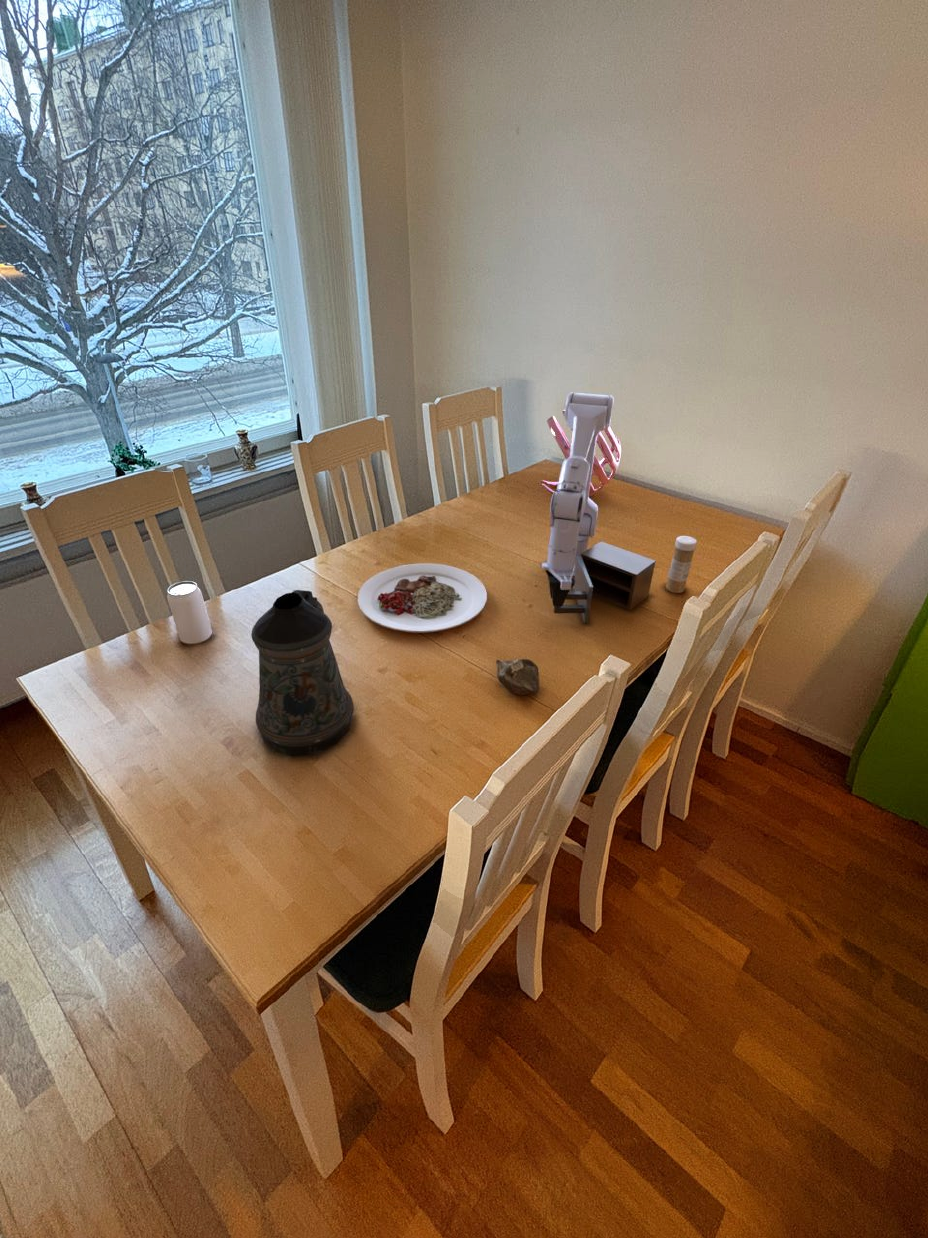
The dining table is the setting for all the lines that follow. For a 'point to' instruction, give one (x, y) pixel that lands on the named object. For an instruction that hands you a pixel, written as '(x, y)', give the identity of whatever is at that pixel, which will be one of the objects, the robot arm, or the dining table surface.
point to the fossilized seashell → (519, 676)
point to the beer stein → (299, 678)
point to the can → (189, 612)
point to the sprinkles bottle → (681, 564)
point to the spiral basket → (597, 464)
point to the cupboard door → (579, 593)
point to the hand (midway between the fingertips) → (556, 601)
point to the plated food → (422, 597)
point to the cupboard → (618, 574)
